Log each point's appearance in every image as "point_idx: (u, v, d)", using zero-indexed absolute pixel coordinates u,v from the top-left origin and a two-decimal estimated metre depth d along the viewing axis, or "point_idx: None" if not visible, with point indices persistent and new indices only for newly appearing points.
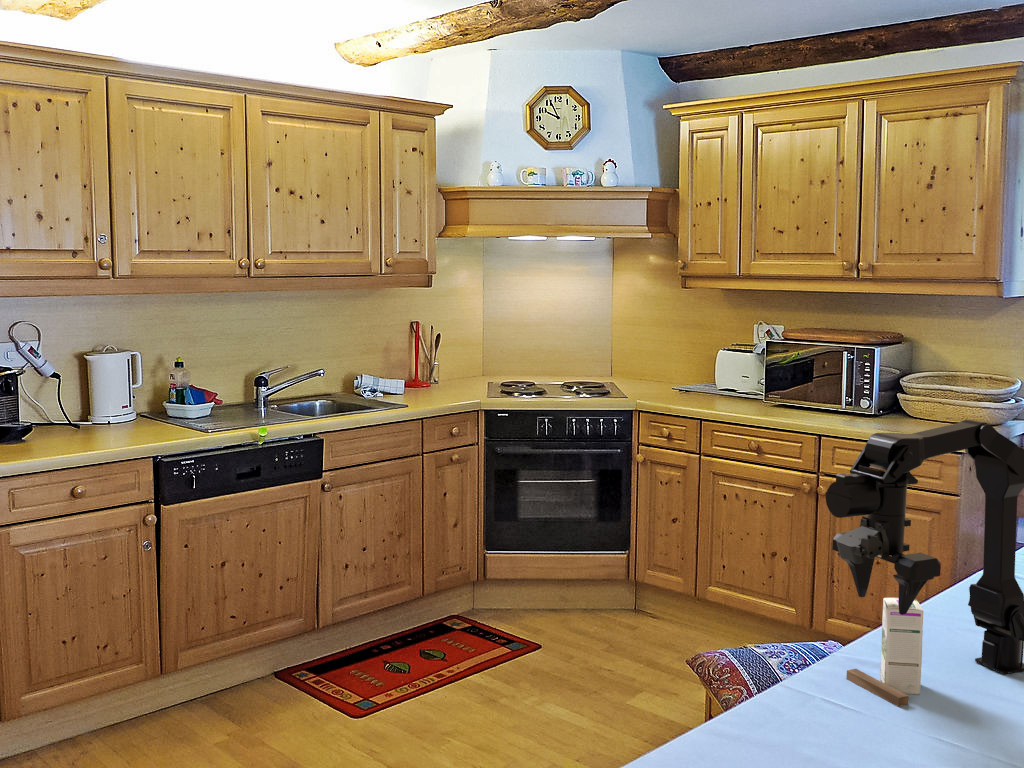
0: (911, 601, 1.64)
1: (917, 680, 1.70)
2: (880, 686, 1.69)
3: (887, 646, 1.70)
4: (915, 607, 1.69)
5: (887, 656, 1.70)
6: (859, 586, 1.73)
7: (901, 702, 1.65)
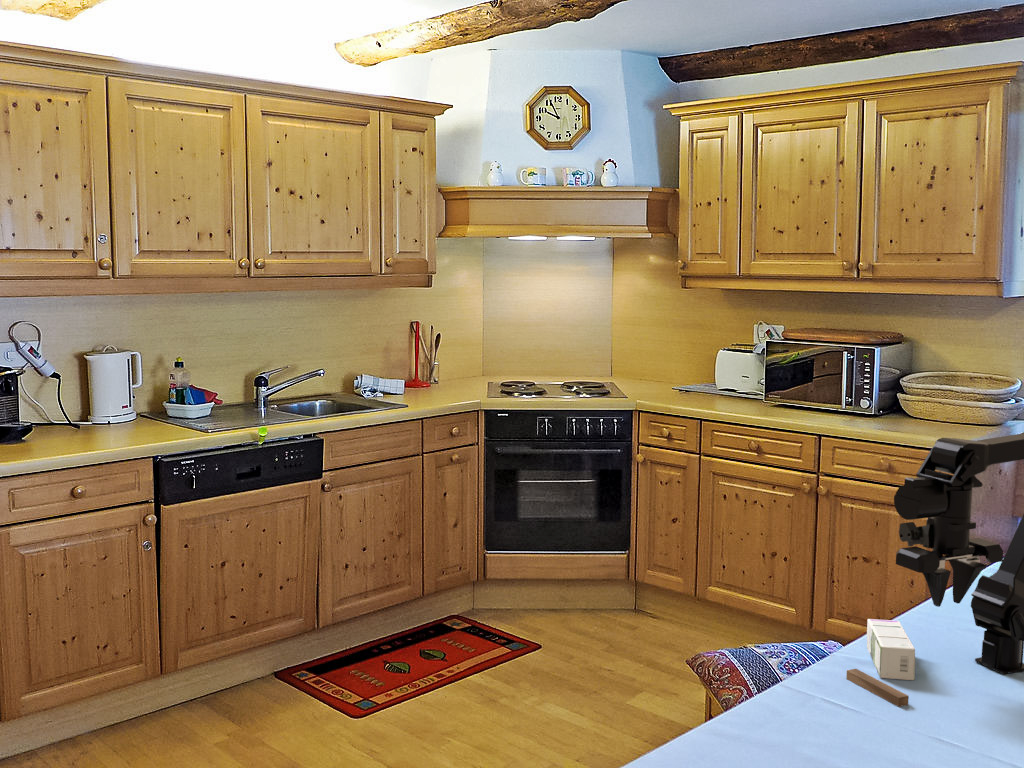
0: (937, 595, 1.73)
1: (909, 643, 1.77)
2: (880, 686, 1.69)
3: (874, 630, 1.83)
4: None
5: (876, 634, 1.82)
6: (953, 590, 1.76)
7: (901, 702, 1.65)
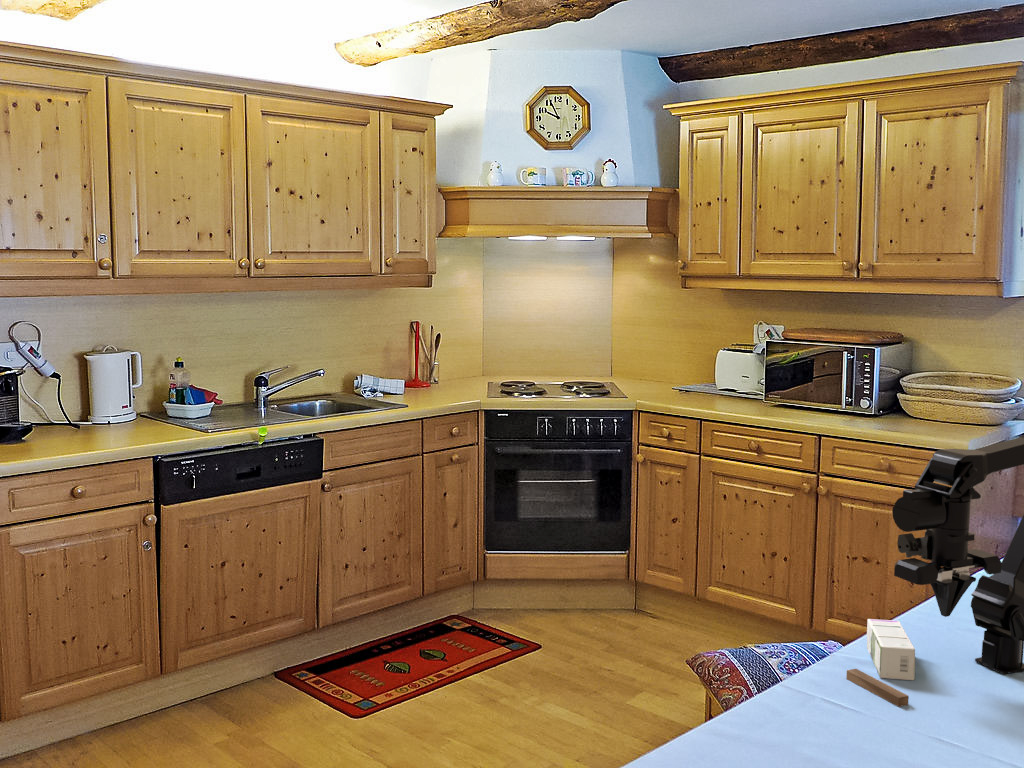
0: (945, 605, 1.74)
1: (909, 643, 1.77)
2: (880, 686, 1.69)
3: (874, 630, 1.83)
4: None
5: (876, 634, 1.82)
6: None
7: (901, 702, 1.65)
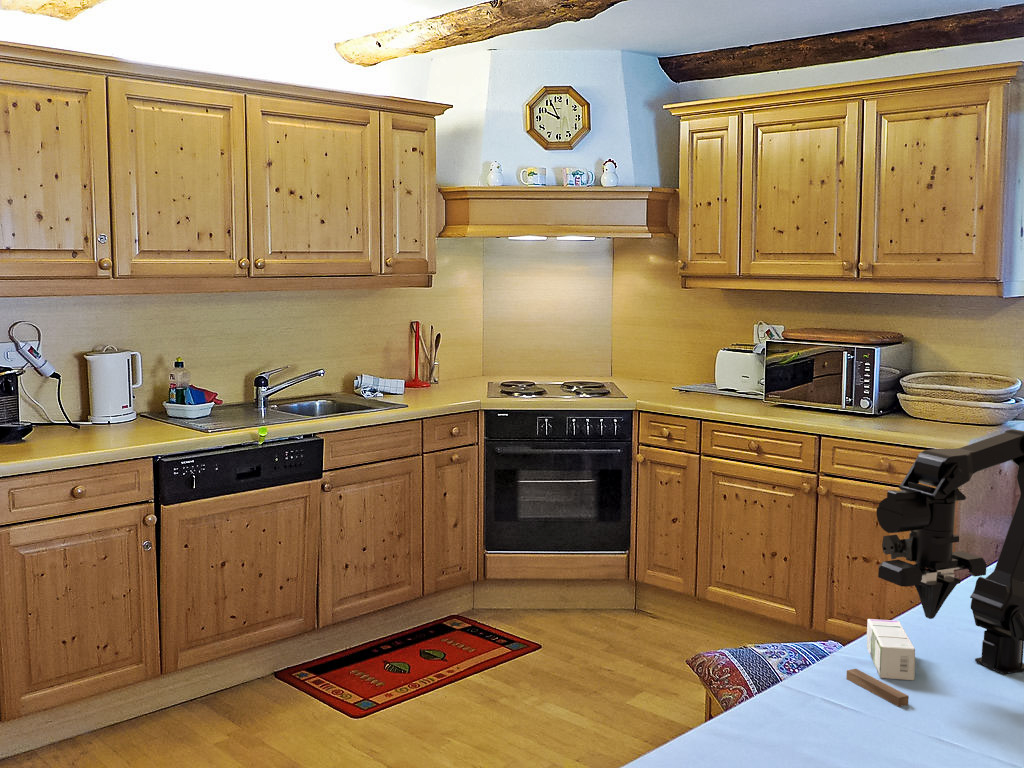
0: (929, 607, 1.73)
1: (909, 643, 1.77)
2: (880, 686, 1.69)
3: (874, 630, 1.83)
4: None
5: (876, 634, 1.82)
6: None
7: (901, 702, 1.65)
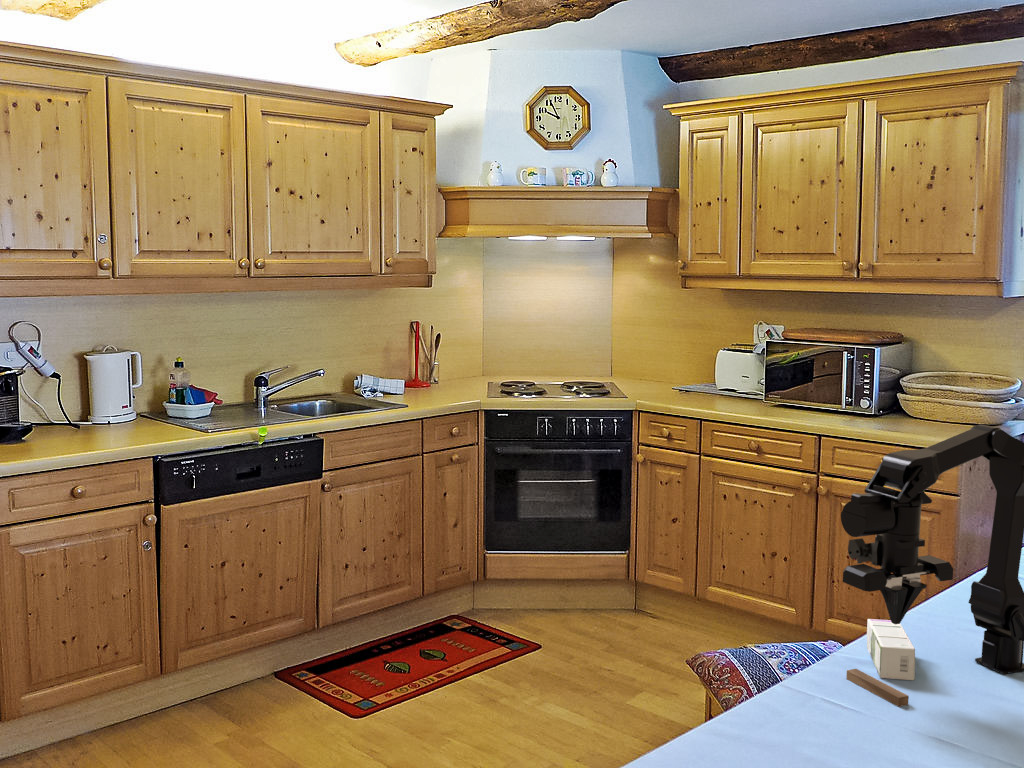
0: (895, 612, 1.70)
1: (909, 643, 1.77)
2: (880, 686, 1.69)
3: (874, 630, 1.83)
4: None
5: (876, 634, 1.82)
6: None
7: (901, 702, 1.65)
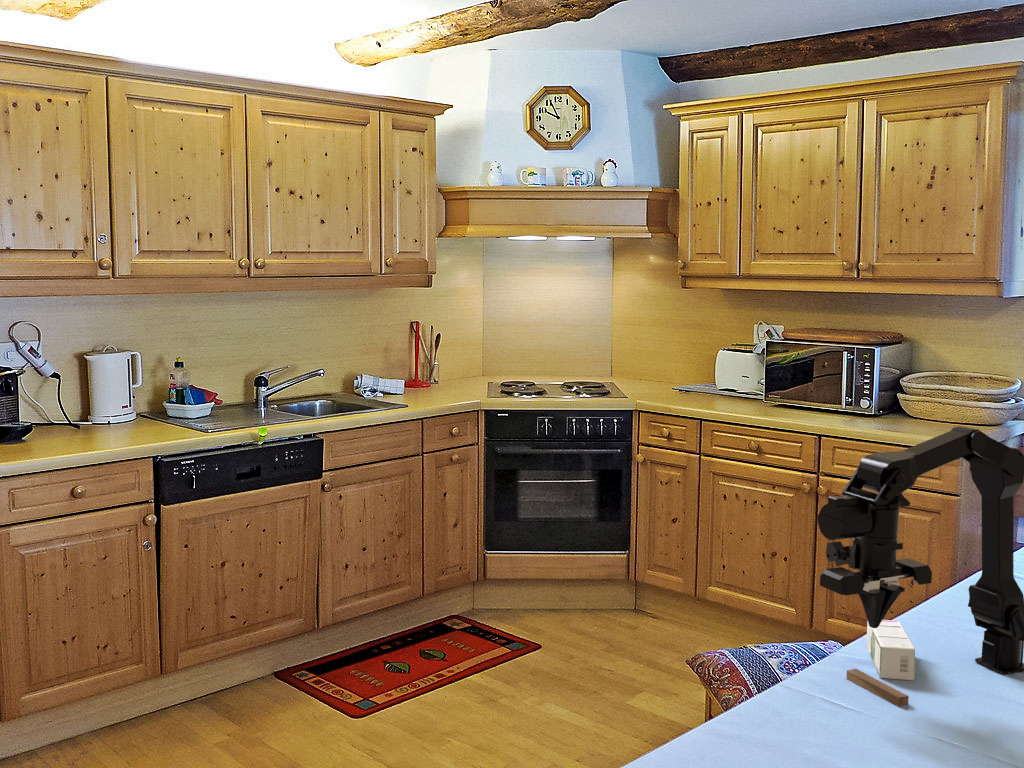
0: (872, 616, 1.68)
1: (909, 643, 1.77)
2: (880, 686, 1.69)
3: (874, 630, 1.83)
4: None
5: (876, 634, 1.82)
6: None
7: (901, 702, 1.65)
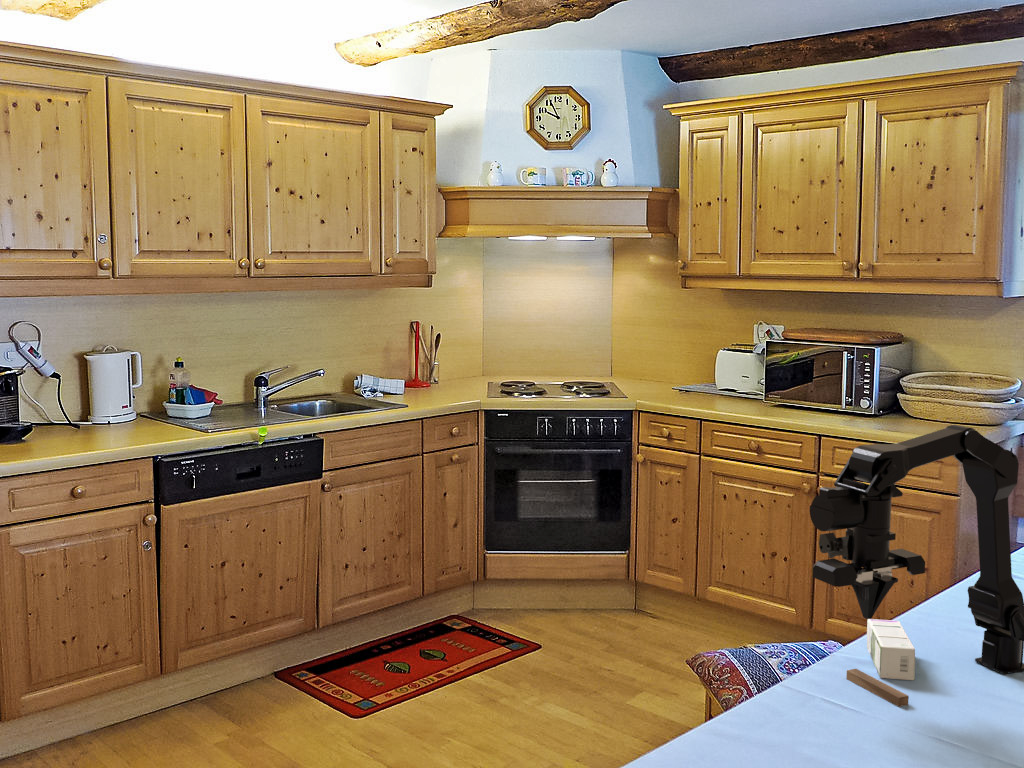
0: (866, 607, 1.67)
1: (909, 643, 1.77)
2: (880, 686, 1.69)
3: (874, 630, 1.83)
4: None
5: (876, 634, 1.82)
6: None
7: (901, 702, 1.65)
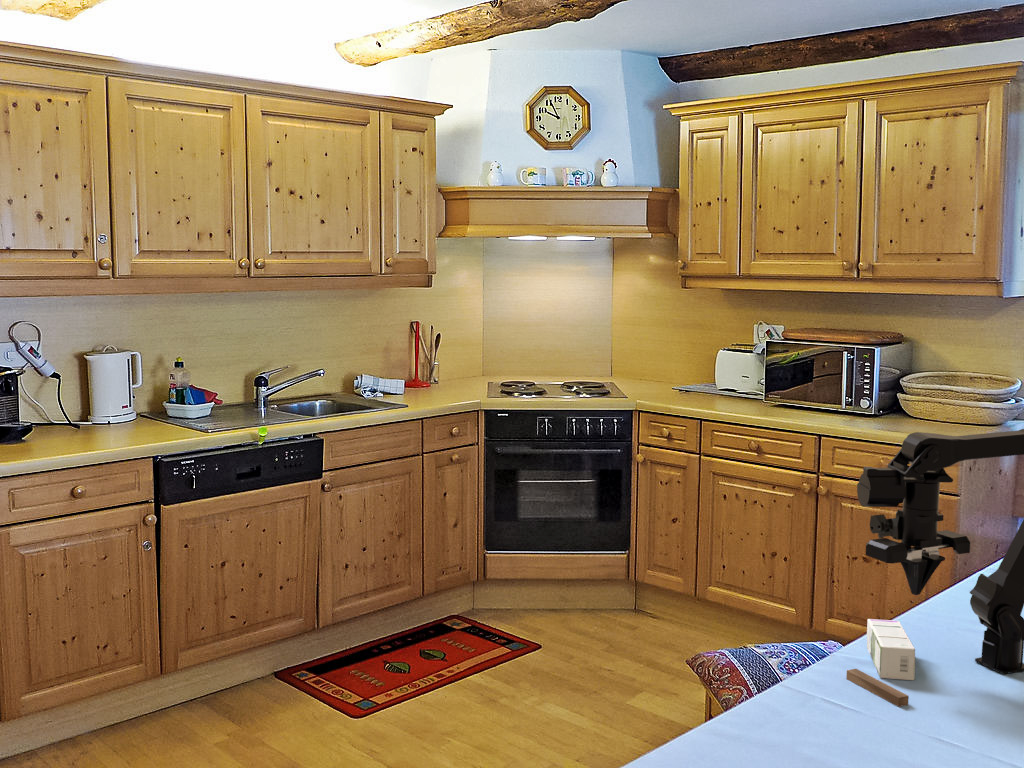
0: (915, 583, 1.79)
1: (909, 643, 1.77)
2: (880, 686, 1.69)
3: (874, 630, 1.83)
4: None
5: (876, 634, 1.82)
6: None
7: (901, 702, 1.65)
